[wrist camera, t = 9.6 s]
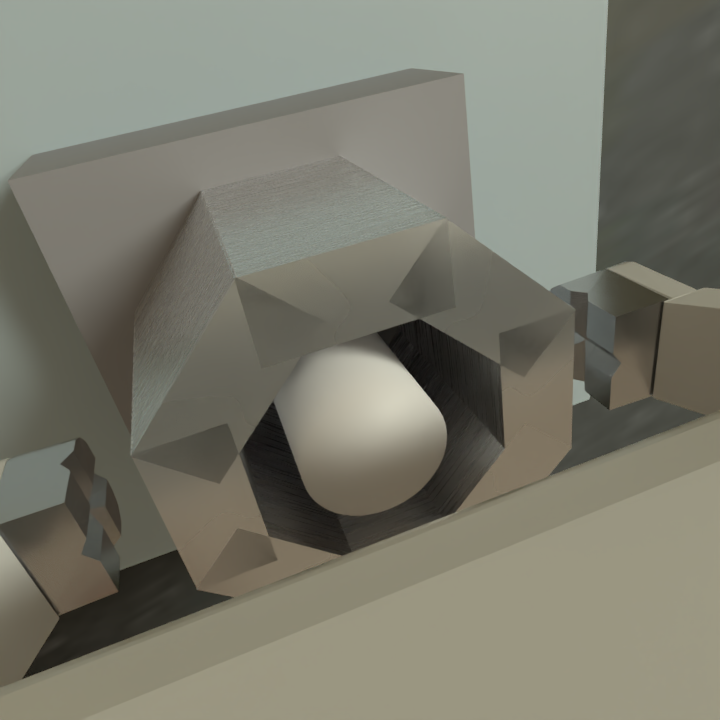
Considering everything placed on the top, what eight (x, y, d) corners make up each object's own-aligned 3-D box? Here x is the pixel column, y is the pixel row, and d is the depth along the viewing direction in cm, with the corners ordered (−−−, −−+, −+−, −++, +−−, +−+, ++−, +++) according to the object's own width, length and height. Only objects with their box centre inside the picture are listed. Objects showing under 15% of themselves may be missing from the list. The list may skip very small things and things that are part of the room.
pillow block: (562, 377, 21) (781, 552, 14) (35, 563, 17) (-38, 923, 10) (570, -124, 13) (1052, -309, 6) (-336, 32, 10) (-1457, 14, 3)
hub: (457, 397, 14) (570, 524, 11) (206, 484, 13) (232, 661, 9) (430, 131, 11) (579, 179, 7) (93, 216, 10) (65, 325, 6)
